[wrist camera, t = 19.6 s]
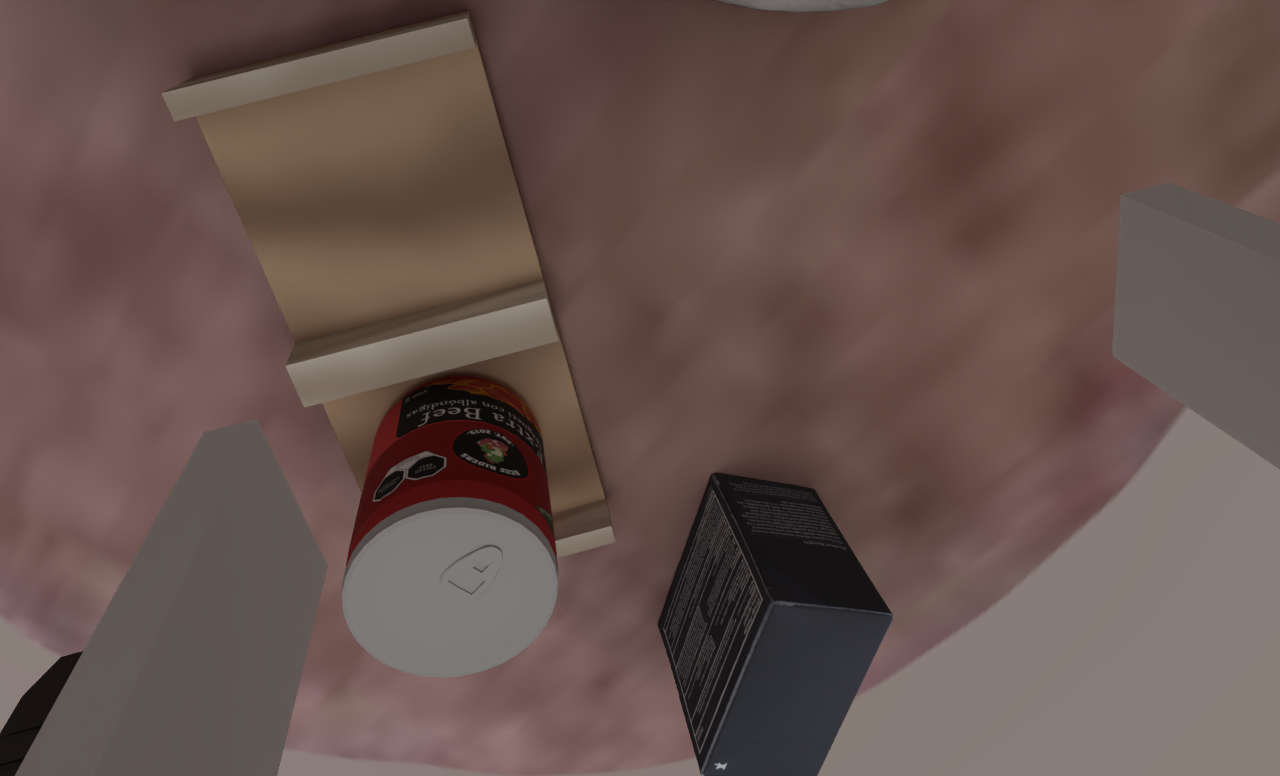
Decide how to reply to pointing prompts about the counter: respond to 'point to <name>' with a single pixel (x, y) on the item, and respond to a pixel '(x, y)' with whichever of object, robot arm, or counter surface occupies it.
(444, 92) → the notched rail
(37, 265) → the counter surface
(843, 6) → the dish
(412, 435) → the canned food
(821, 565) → the small box
